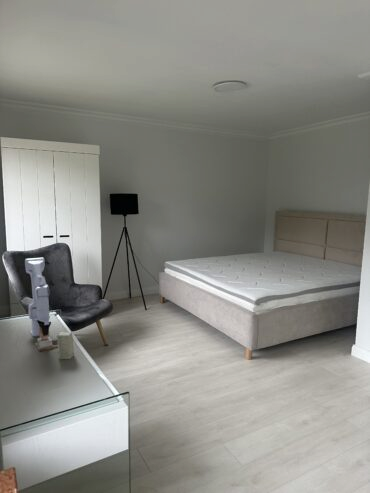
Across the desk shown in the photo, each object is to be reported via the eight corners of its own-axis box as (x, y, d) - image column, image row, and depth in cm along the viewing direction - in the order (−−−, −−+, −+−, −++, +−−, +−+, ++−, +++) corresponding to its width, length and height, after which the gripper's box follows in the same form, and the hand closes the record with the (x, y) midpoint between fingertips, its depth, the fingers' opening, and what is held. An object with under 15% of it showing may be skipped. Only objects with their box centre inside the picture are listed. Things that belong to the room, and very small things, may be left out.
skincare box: (74, 355, 170) (73, 331, 168) (70, 359, 165) (69, 335, 164) (62, 354, 170) (60, 331, 169) (57, 358, 166) (56, 334, 164)
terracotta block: (39, 336, 180) (38, 327, 179) (47, 334, 182) (46, 325, 181) (41, 338, 177) (40, 329, 176) (49, 337, 179) (48, 327, 178)
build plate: (35, 344, 182) (34, 337, 181) (56, 340, 188) (56, 333, 188) (39, 351, 174) (38, 344, 173) (61, 346, 180) (61, 339, 180)
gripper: (31, 306, 181) (33, 331, 183) (37, 314, 169) (39, 340, 171) (45, 304, 185) (47, 328, 187) (52, 311, 173) (54, 337, 175)
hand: (44, 334), depth 179 cm, fingers closed on terracotta block, 4 cm apart
